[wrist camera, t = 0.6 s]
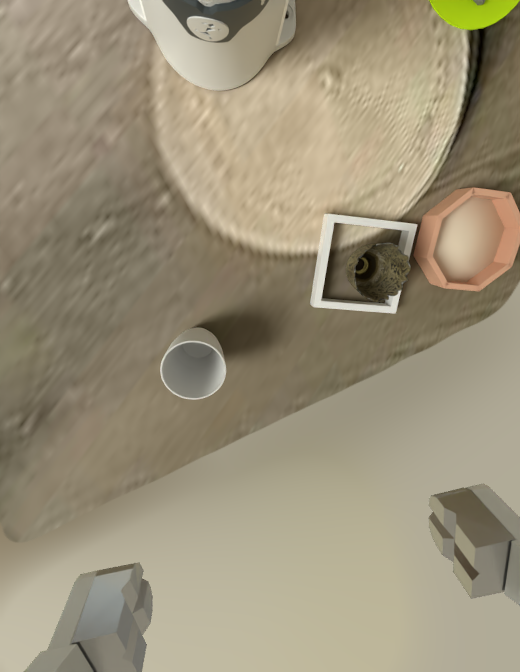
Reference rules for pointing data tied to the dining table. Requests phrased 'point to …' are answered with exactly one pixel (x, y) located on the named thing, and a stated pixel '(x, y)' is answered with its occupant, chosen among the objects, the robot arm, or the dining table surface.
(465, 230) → the bowl
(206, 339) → the cup
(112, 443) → the dining table surface
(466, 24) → the toy cauldron
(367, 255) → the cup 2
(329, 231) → the open white square frame
